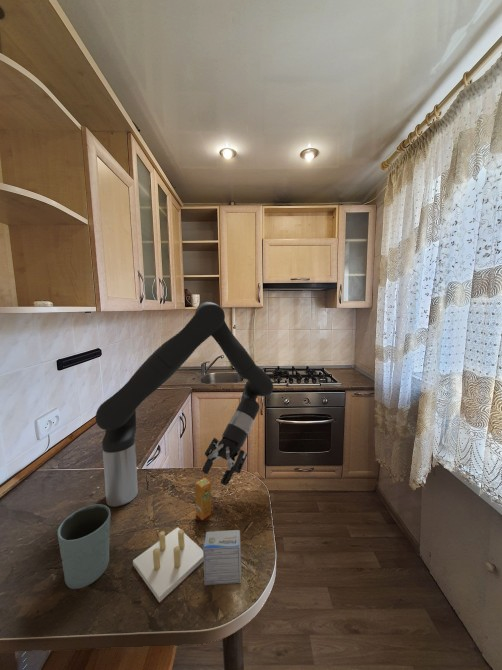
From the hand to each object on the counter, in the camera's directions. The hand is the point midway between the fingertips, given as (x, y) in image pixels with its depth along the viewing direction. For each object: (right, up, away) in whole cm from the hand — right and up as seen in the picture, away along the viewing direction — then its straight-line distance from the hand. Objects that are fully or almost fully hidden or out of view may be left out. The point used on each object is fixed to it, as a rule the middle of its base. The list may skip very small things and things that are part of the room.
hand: (213, 478), depth 75 cm
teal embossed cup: (-26, -11, -18) cm, 33 cm away
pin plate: (-8, -10, -16) cm, 21 cm away
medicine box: (+5, -10, -20) cm, 23 cm away
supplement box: (-2, -9, -3) cm, 10 cm away
